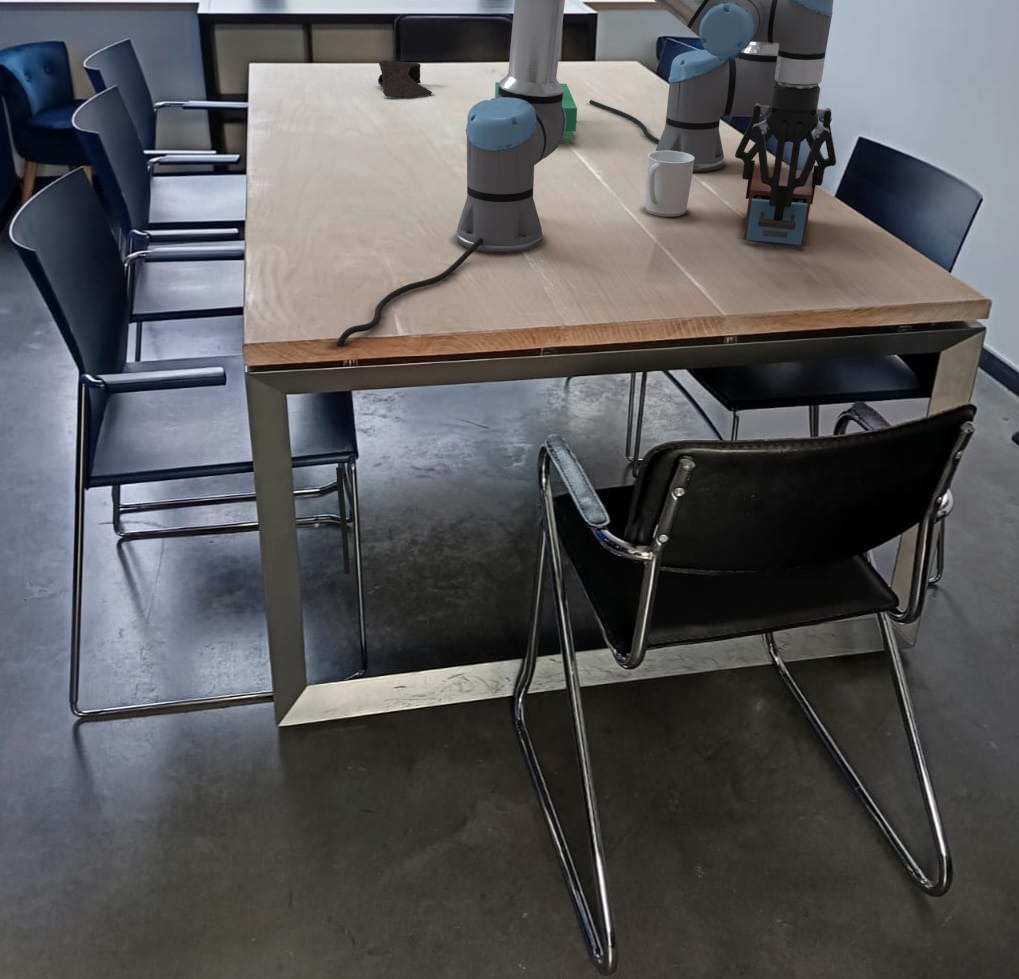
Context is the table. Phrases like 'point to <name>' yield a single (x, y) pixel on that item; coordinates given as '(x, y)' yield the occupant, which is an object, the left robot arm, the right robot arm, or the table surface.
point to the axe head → (401, 79)
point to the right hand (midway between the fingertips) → (779, 199)
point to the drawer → (776, 222)
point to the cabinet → (765, 189)
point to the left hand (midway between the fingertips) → (777, 224)
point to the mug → (668, 182)
